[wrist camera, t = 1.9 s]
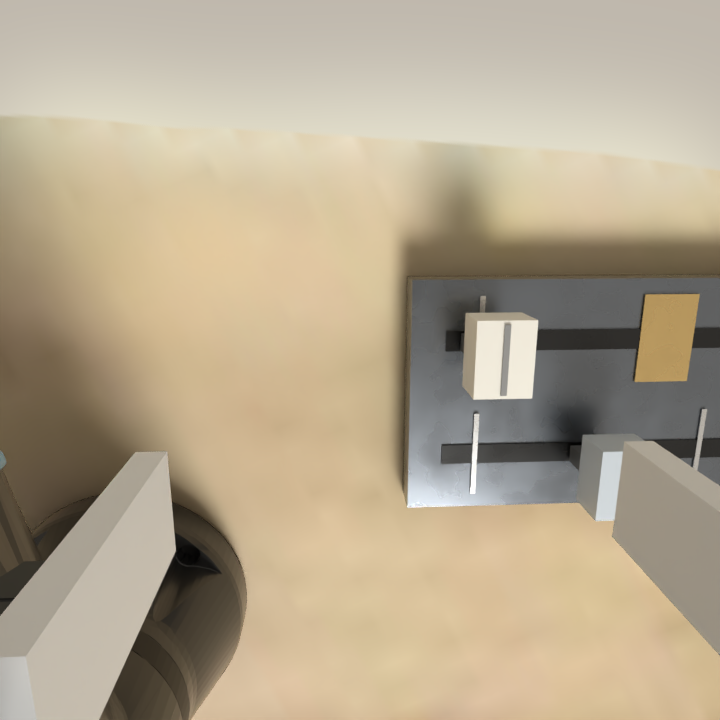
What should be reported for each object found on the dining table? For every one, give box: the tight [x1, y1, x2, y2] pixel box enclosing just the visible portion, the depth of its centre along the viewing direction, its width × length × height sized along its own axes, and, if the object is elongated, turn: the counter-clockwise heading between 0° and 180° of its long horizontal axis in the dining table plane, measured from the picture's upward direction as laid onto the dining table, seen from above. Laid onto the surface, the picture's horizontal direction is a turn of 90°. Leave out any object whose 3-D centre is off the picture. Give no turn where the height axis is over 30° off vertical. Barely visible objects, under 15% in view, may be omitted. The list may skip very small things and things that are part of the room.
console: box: [403, 274, 720, 508], centre depth 34 cm, size 22×14×2 cm, turn 90°
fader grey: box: [569, 434, 644, 521], centre depth 32 cm, size 3×4×4 cm
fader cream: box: [460, 312, 538, 400], centre depth 29 cm, size 3×4×4 cm
